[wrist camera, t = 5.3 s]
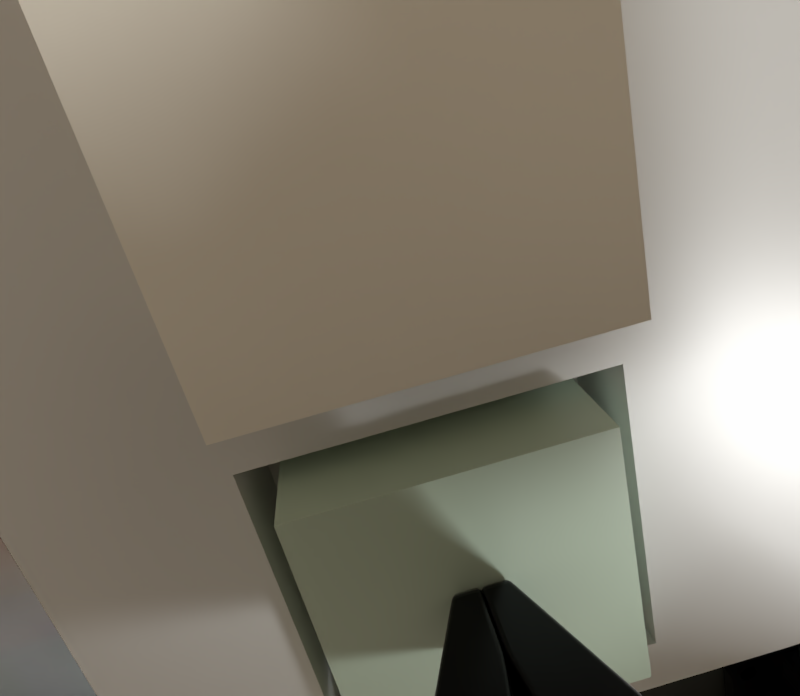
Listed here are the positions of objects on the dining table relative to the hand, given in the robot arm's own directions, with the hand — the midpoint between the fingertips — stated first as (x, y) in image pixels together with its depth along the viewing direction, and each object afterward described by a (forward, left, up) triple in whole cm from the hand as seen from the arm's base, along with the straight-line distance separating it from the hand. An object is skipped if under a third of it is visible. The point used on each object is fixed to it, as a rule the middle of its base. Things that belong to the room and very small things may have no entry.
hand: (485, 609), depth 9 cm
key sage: (0, 0, -2) cm, 3 cm away
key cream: (+7, 0, -1) cm, 7 cm away
